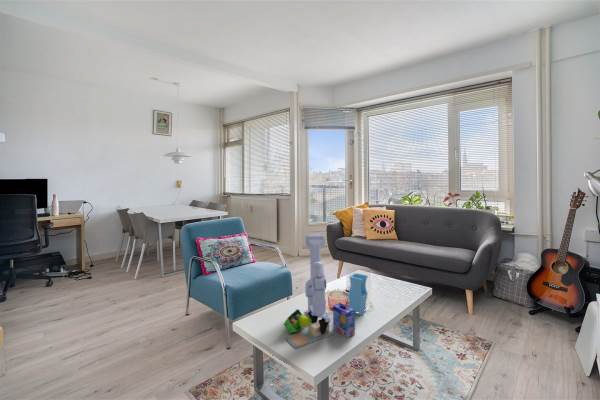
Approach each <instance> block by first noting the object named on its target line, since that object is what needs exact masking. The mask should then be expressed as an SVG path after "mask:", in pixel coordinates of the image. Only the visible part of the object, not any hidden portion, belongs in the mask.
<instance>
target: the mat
mask: <svg viewBox="0 0 600 400" xmlns="http://www.w3.org/2000/svg"><path fill="white" fill-rule="evenodd" d="M333 335H334V333H333V332H332V331H330V330H329V332H327V333H324V334H321V335H319V336H316V337H313V336H312V335H310V334H309V333H308V329H306V330H302V331H300V332H297V333H296V332H295V333H294V334H291V335H287V336H285V337H284V339H285V341H287V342H288V343H289V344H290V346H292V347H293V348H294V349H295V350H296V349H299V348H302V347H304V346H307V345H309V344H312V343H314V342H317V341H320V340H323V339H325V338H328V337H331V336H333Z"/></svg>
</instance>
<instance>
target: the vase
mask: <svg viewBox="0 0 600 400" xmlns="http://www.w3.org/2000/svg"><path fill="white" fill-rule="evenodd" d="M367 279H368V275H366V274H362V273H358V272H354V273H352V274H350V275H349V280H350V281H349V283H350V287H349V291H348V294H347V298H348V301H349V302H348V304H349V305H348V307H350V308H352V309H354V310H355V315H357V316H362V315H364V314H365V313H366V312H367V305H366V304H367V298H368V291H367V286H366V282H367ZM365 309H366V310H365ZM364 310H365V311H364ZM356 312H359V313H356Z"/></svg>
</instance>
